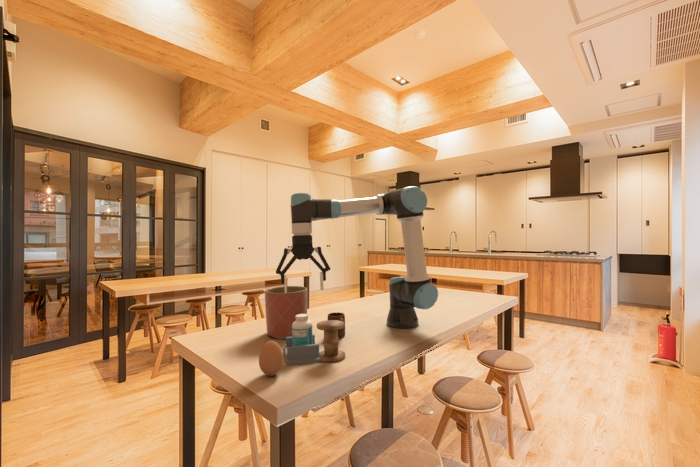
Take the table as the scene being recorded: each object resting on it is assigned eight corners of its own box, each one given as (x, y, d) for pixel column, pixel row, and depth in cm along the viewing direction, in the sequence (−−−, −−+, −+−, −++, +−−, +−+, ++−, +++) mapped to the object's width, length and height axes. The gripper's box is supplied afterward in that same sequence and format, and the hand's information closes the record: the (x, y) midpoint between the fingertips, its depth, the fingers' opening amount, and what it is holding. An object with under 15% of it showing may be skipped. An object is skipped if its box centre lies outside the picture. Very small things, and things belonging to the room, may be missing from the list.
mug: (352, 340, 132) (351, 317, 133) (334, 342, 130) (334, 319, 130) (341, 332, 144) (341, 311, 144) (325, 334, 141) (325, 313, 141)
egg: (282, 379, 97) (281, 344, 97) (256, 381, 97) (256, 345, 97) (285, 369, 105) (284, 336, 105) (261, 370, 104) (261, 337, 104)
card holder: (314, 344, 128) (314, 332, 128) (321, 361, 111) (321, 347, 111) (284, 347, 125) (284, 335, 125) (286, 365, 108) (286, 351, 108)
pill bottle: (305, 346, 123) (304, 311, 123) (316, 351, 118) (316, 314, 118) (288, 351, 118) (287, 315, 118) (300, 356, 113) (299, 318, 113)
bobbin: (341, 350, 120) (341, 319, 121) (348, 360, 111) (347, 326, 111) (315, 353, 118) (314, 321, 118) (319, 364, 108) (318, 329, 108)
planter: (278, 343, 131) (277, 294, 131) (258, 333, 145) (257, 289, 145) (316, 333, 143) (315, 288, 143) (294, 324, 157) (293, 284, 158)
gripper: (332, 233, 126) (334, 286, 126) (267, 235, 120) (269, 292, 120) (336, 233, 119) (338, 290, 119) (267, 235, 113) (270, 295, 113)
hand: (304, 291), depth 119 cm, fingers open, 13 cm apart
